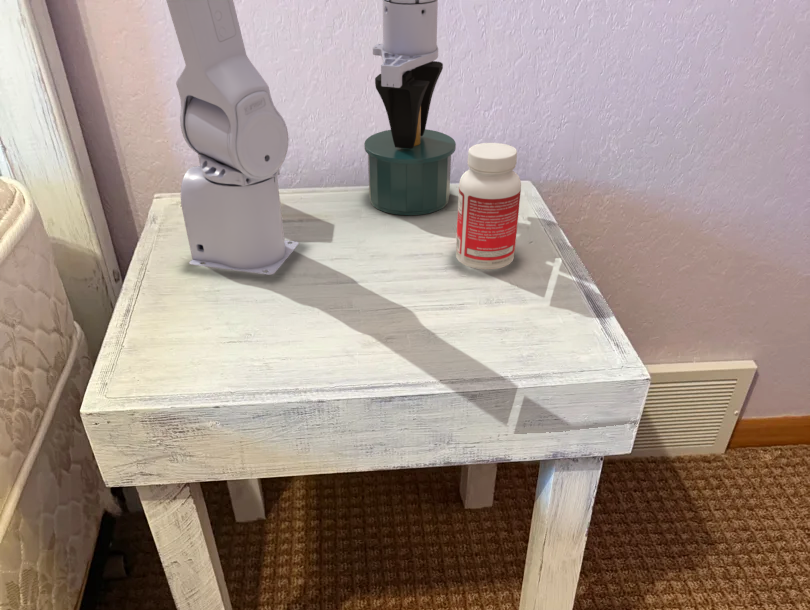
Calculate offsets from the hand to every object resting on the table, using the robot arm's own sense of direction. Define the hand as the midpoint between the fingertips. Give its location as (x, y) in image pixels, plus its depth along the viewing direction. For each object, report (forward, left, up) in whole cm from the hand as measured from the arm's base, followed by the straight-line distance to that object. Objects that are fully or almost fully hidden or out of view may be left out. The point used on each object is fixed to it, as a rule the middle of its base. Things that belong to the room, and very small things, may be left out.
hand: (409, 140), depth 88 cm
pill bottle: (+12, -14, -7) cm, 20 cm away
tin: (0, 0, -7) cm, 7 cm away
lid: (0, 0, -1) cm, 1 cm away
